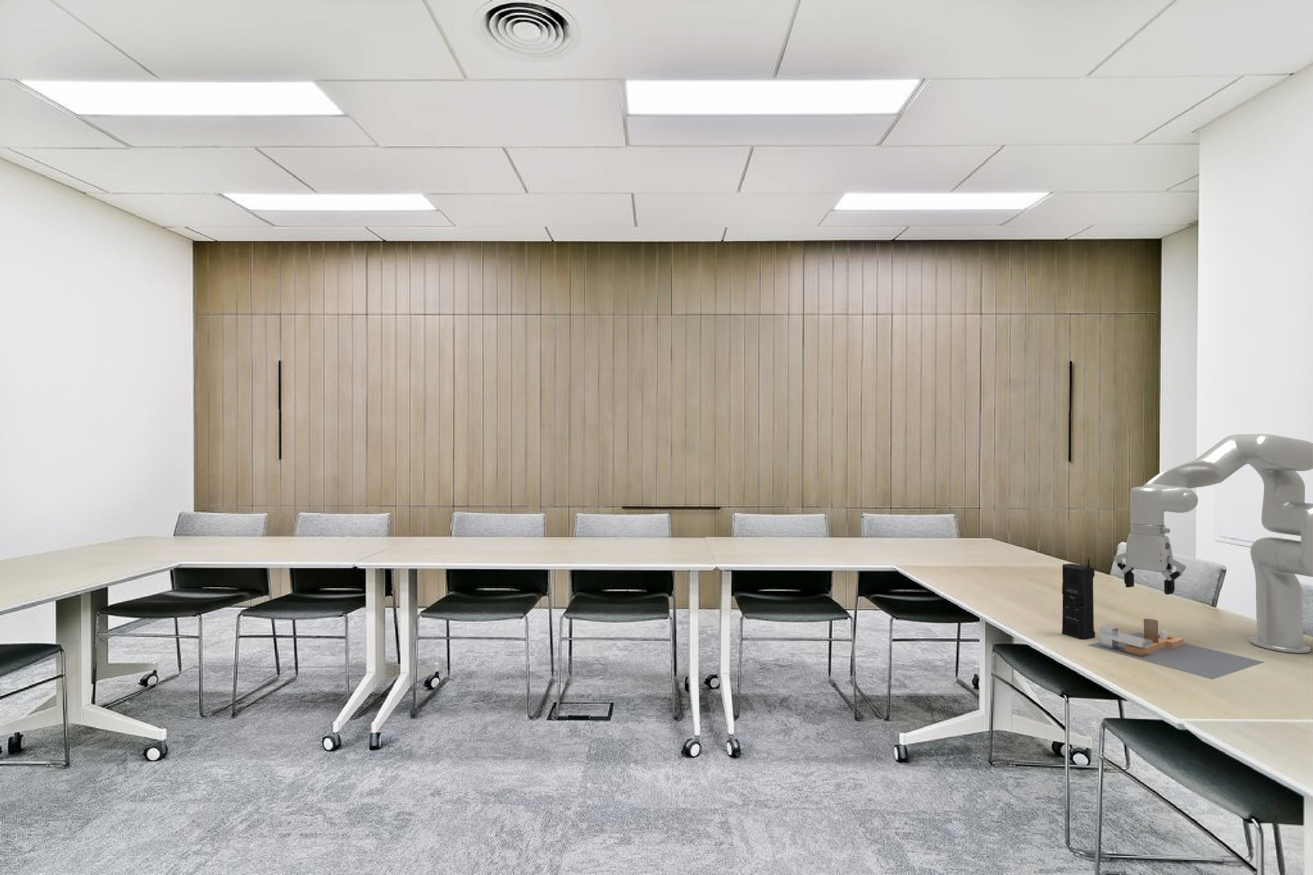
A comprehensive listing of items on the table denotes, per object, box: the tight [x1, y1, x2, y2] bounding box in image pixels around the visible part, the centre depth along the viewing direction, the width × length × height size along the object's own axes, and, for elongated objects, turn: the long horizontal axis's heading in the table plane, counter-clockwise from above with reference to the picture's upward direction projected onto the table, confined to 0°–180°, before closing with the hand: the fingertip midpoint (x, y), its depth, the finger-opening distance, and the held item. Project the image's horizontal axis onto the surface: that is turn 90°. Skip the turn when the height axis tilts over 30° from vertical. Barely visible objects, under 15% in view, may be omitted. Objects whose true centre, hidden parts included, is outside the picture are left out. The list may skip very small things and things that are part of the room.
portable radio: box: [1061, 558, 1096, 641], centre depth 187 cm, size 8×6×25 cm
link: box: [1125, 618, 1185, 655], centre depth 176 cm, size 22×7×8 cm, turn 119°
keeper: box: [1098, 624, 1153, 649], centre depth 173 cm, size 5×11×7 cm, turn 26°
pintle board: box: [1087, 629, 1264, 680], centre depth 171 cm, size 27×29×5 cm
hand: (1148, 590), depth 176 cm, fingers open, 9 cm apart
